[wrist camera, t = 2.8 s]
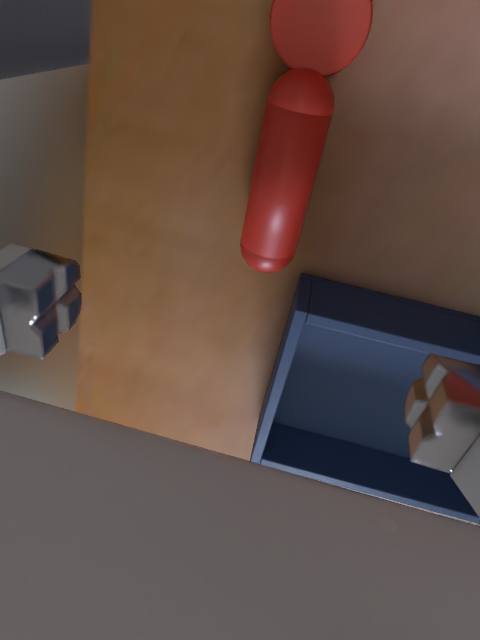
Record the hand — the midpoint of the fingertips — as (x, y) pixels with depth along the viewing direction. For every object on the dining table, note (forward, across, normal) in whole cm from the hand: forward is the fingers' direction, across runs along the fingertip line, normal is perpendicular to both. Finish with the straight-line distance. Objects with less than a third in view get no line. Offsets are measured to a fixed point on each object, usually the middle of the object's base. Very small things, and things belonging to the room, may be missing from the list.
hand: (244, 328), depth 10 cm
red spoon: (+12, 0, -2) cm, 12 cm away
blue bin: (+12, -8, +10) cm, 18 cm away
